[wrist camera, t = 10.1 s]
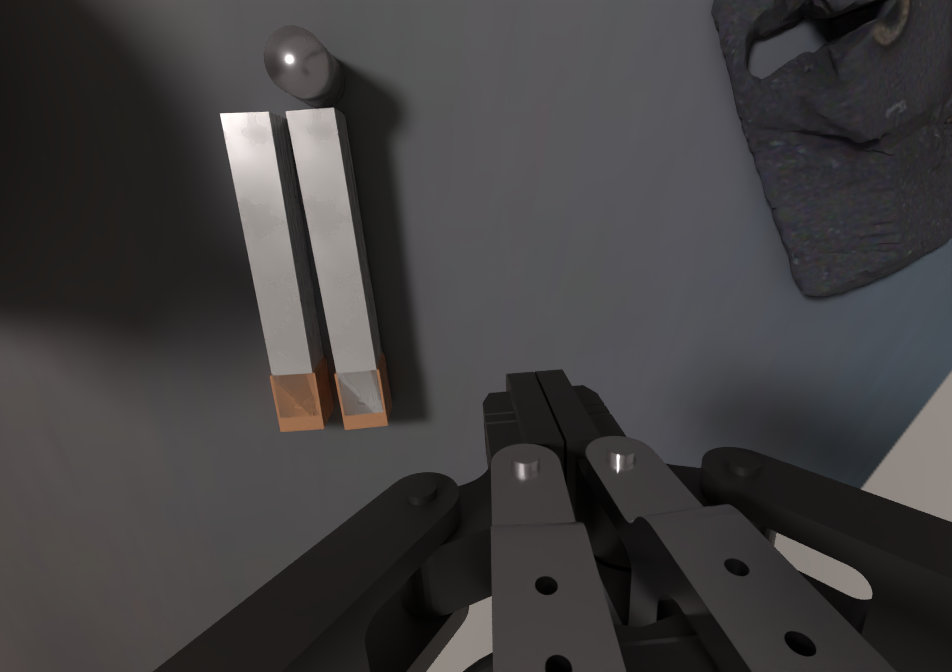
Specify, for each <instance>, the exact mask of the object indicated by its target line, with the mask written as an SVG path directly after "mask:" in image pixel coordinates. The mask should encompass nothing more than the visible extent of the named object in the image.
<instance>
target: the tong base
mask: <svg viewBox="0 0 952 672" xmlns="http://www.w3.org/2000/svg"><path fill="white" fill-rule="evenodd" d="M264 62H265V67H266V70H267V72H268V74H269V76H270V78H271V79H272V81H273V82H274V83H275V84H276V85H277V86H278V87H279V88H280V89H282V90H283V91H285V92H287V93H289V94H290V95H292V96H294V97H296V98H297V99H299V100H301V101H303V102H304V103H306V104H308V105H310V106H312V107H315V108H327V107H330V106H332V105H334V104H335V103H336V102H337V101H338V100H339V99H340V98H341V96H342V94H343V91H344V86H345V79H344V74H343V71H342V68H341V66H340V65H339V63H338V62H337V61H336V59H335V58H334V57H333V56H332V55H331V54H330V53H329V51H328V50H327V49H326V48H325V47H324V46H323V45H322V43H321V42H320V41H319V40H318V39H317V38H316V37H315V36H314V35H313V34H312V33H311V32H309V31H308V30H306V29H304V28H301V27H298V26H285V27H282V28H279V29H278V30H276V31H275V32H274V33H273V34H272V35H271V36H270V37H269V39H268V40H267V43H266V46H265V50H264ZM220 116H221V121H222V126H223V131H224V136H225V141H226V146H227V151H228V156H229V161H230V166H231V171H232V176H233V181H234V186H235V191H236V196H237V201H238V206H239V211H240V216H241V222H242V227H243V232H244V237H245V242H246V247H247V252H248V257H249V262H250V267H251V272H252V277H253V282H254V287H255V292H256V297H257V302H258V307H259V312H260V317H261V322H262V327H263V332H264V337H265V342H266V348H267V353H268V358H269V363H270V368H271V373H272V374H271V375H270V380H271V385H272V390H273V395H274V400H275V405H276V410H277V415H278V420H279V425H280V430H281V432H285V431H299V430H313V429H324V428H325V426H326V424H327V422H328V419H329V417H330V415H331V413H332V411H333V409H334V404H333V398H332V391H331V385H330V378H329V372H328V366H327V359H326V356H324V354H323V348H322V341H321V335H320V329H319V322H318V316H317V310H316V303H315V297H314V291H313V284H312V278H311V272H310V265H309V259H308V253H307V246H306V240H305V234H304V227H303V221H302V214H301V208H300V202H299V195H298V189H297V183H296V176H295V170H294V164H293V157H292V151H291V145H290V138H289V132H288V126H287V119H285V118H283V117H280V116H278V115H275V114H273V113H270V112H250V113H223V114H220Z"/></svg>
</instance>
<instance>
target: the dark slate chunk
mask: <svg viewBox="0 0 952 672" xmlns="http://www.w3.org/2000/svg"><path fill="white" fill-rule="evenodd" d="M711 13H712V15H713V17H714V19H715V26H716V28H717V30H719V39H720V45H721V49H722V51H723V52H724V54H725V56H726V65H727V69H728V72H729V74H730V80H731V85H732V89H733V93H734V99H735V104H736V108H737V112H738V115H739V116H740V117H741V118H742V129H743V131H744V133H745V136H746V138H747V141H748V147H749V149H750V150H751V152H752V153H753V155H754V161H755V165H756V167H757V168H758V169H759V172H760V175H761V178H762V181H763V188H764V192H765V197H766V199H767V200H768V201H769V203H770V206H771V208H772V213H773V219H774V221H775V223H776V225H777V227H778V229H779V232H780V235H781V238H782V242H783V244H784V246H785V247H786V249H787V252H788V254H789V260H790V265H791V270H792V275H793V277H794V279H795V281H796V283H797V285H798V286H799V288H800V290H801V291H802V292H803V294H804V295H808V296H829V295H833V294H836V293H844V292H846V291H848V290H850V289H853V288H855V287H858V286H864V285H866V284H868V283H871V282H873V281H874V280H876V279H878V278H881V277H884V276H886V275H889V274H890V273H894V272H895V271H897V270H899V269H901V268H904V267H905V266H907V265H908V264H910V263H911V262H912V261H914V260H916V259H918V258H919V257H921V256H923V255H924V254H926V253H929V252H931V251H932V250H934V249H936V248H938V247H940V246H941V245H943V244H944V243H946V242H947V241H948V240H950V239H951V237H952V0H714V3H713V6H712V10H711ZM802 17H804V19H805V20H808V19H819V18H824V19H829V18H833V19H832V20H831V21H830V22H829V25H830V30H829V35H828V42H827V43H826V44H824V45H823V46H822V47H821V48H820V49H818V50H817V51H816V52H814V53H811V52H805V53H802V54H800V55H799V56H797V57H796V58H794V59H792V60H790V61H789V62H787V63H786V64H785V65H783V66H782V67H781V68H779V69H778V70H776V71H775V72H774V73H772V74H771V75H770V76H768V77H766V78H764V79H763V80H761V79H760V78H758V77H755V76H752V75H751V74H750V72H749V71H748V68H747V59H748V51H749V47H750V45H751V44H752V43H753V42H754V41H755V40H757V39H759V38H761V37H765V36H767V35H768V34H770V33H771V32H774V31H776V30H778V29H791V28H793V27H794V26H796V24H797V23H798V22H799V21H800V19H801V18H802Z"/></svg>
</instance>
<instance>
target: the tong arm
mask: <svg viewBox="0 0 952 672" xmlns="http://www.w3.org/2000/svg"><path fill="white" fill-rule="evenodd" d="M286 115H287V120H288V125H289V131H290V136H291V141H292V146H293V151H294V156H295V162H296V167H297V172H298V177H299V182H300V187H301V193H302V198H303V203H304V208H305V213H306V218H307V224H308V229H309V234H310V239H311V244H312V249H313V254H314V260H315V265H316V270H317V275H318V280H319V285H320V291H321V296H322V301H323V306H324V311H325V316H326V322H327V327H328V332H329V337H330V342H331V347H332V353H333V358H334V363H335V368H336V372H335V373H334V376H335V381H336V386H337V391H338V396H339V401H340V406H341V411H342V416H343V422H344V427H345V430H349V429H359V428H368V427H378V426H387V425H388V423H389V418H390V414H391V409H392V398H391V392H390V385H389V379H388V372H387V366H386V359H385V353H382V348H381V342H380V335H379V329H378V322H377V316H376V310H375V303H374V297H373V291H372V284H371V278H370V271H369V265H368V259H367V252H366V246H365V240H364V233H363V227H362V220H361V214H360V208H359V201H358V195H357V189H356V182H355V176H354V169H353V163H352V157H351V150H350V144H349V138H348V131H347V125H346V118H345V115H344V114H343V113H341V112H340V111H338V110H337V109H335V108H322V109H309V110H297V111H286Z"/></svg>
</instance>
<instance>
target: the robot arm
mask: <svg viewBox="0 0 952 672" xmlns="http://www.w3.org/2000/svg"><path fill="white" fill-rule="evenodd" d="M483 414H484V430H485V445H486V456H487V464H488V470H487V471H486V472H485V473H484V474H483V475H482V476H481V477H479V478H478V479H476V480H474V481H472V482H470V483H467V484H464V485H461V486H457V484H456V483H455V481H454V480H453V479H451V478H450V477H448V476H446V475H443V474H440V473H434V472H423V473H416V474H413V475H409V476H407V477H404V478H402V479H400V480H399V481H397V482H396V483H394V484H393V485H392V486H390V487H389V488H388V489H387V490H385V491H384V492H383V493H381V494H380V495H379V496H378V497H376V498H375V499H374V500H372V501H371V502H370V503H369V504H367V505H366V506H365V507H363V508H362V509H361V510H360V511H358V512H357V513H356V514H354V515H353V516H352V517H351V518H349V519H348V520H347V521H346V522H344V523H343V524H342V525H340V526H339V527H338V528H337V529H335V530H334V531H333V532H331V533H330V534H329V535H328V536H326V537H325V538H324V539H322V540H321V541H320V542H319V543H317V544H316V545H315V546H313V547H312V548H311V549H310V550H308V551H307V552H306V553H304V554H303V555H302V556H301V557H299V558H298V559H297V560H295V561H294V562H293V563H292V564H290V565H289V566H288V567H287V568H285V569H284V570H283V571H281V572H280V573H279V574H278V575H276V576H275V577H274V578H272V579H271V580H270V581H269V582H267V583H266V584H265V585H263V586H262V587H261V588H260V589H258V590H257V591H256V592H254V593H253V594H252V595H251V596H249V597H248V598H247V599H245V600H244V601H243V602H242V603H240V604H239V605H238V606H237V607H235V608H234V609H233V610H231V611H230V612H229V613H228V614H226V615H225V616H224V617H222V618H221V619H220V620H219V621H217V622H216V623H215V624H213V625H212V626H211V627H210V628H208V629H207V630H206V631H204V632H203V633H202V634H201V635H199V636H198V637H197V638H195V639H194V640H193V641H192V642H190V643H189V644H188V645H186V646H185V647H184V648H183V649H181V650H180V651H179V652H178V653H176V654H175V655H174V656H172V657H171V658H170V659H169V660H167V661H166V662H165V663H163V664H162V665H161V666H160V667H158V668H157V669H156V670H154V671H153V672H426V671H427V670H428V668H429V667H430V666H431V664H432V663H433V662H434V660H435V659H436V658H437V657H438V655H439V654H440V653H441V651H442V650H443V648H444V647H445V646H446V645H447V643H448V642H449V641H450V639H451V638H452V637H453V636H454V634H455V633H456V631H457V630H458V629H459V628H460V626H461V625H462V624H463V622H464V621H465V619H466V617H467V614H468V611H469V605H471V604H474V603H476V602H478V601H481V600H483V599H485V598H487V597H490V596H492V634H493V652H492V653H490V654H489V655H487V656H485V657H483V658H481V659H479V660H478V661H477V662H475V663H474V664H473V665H471V666H470V667H468V668H467V669H466V670H464V671H463V672H952V522H950V521H947V520H944V519H941V518H939V517H936V516H933V515H930V514H928V513H925V512H922V511H919V510H916V509H913V508H911V507H908V506H905V505H902V504H900V503H897V502H894V501H891V500H888V499H886V498H883V497H880V496H877V495H874V494H872V493H869V492H866V491H863V490H861V489H858V488H855V487H852V486H849V485H847V484H844V483H841V482H838V481H835V480H833V479H830V478H827V477H824V476H821V475H819V474H816V473H813V472H810V471H807V470H805V469H802V468H799V467H796V466H794V465H791V464H788V463H785V462H782V461H780V460H777V459H774V458H771V457H768V456H766V455H763V454H760V453H757V452H754V451H751V450H747V449H742V448H735V447H721V448H716V449H712V450H710V451H708V452H707V453H705V455H704V456H703V458H702V466H701V468H695V467H686V466H677V465H670V464H665V463H664V462H663V460H662V459H661V458H660V457H659V456H658V455H657V454H656V453H655V451H654V450H653V449H652V448H651V447H649V446H648V445H647V444H645V443H643V442H641V441H639V440H636V439H633V438H629V437H626V435H625V434H624V432H623V431H622V429H621V428H620V426H619V425H618V424H617V422H616V421H615V419H614V418H613V416H612V415H611V414H610V412H609V410H608V409H607V407H606V406H604V403H603V401H602V400H601V398H600V397H599V395H598V394H597V393H596V392H594V391H592V390H591V389H589V388H587V387H585V386H584V385H581V386H572V385H571V384H570V382H569V380H568V378H567V377H566V375H565V373H564V371H563V370H562V369H561V370H548V371H536V372H535V373H534V372H524V373H512V374H506V392H497V393H489V394H488V396H487V397H486V399H485V400H484V402H483ZM776 533H779V534H781V535H784V536H786V537H788V538H790V539H792V540H795V541H797V542H799V543H801V544H804V545H805V546H808V547H810V548H812V549H814V550H816V551H818V552H821V553H823V554H825V555H827V556H829V557H832V558H834V559H836V560H838V561H840V562H842V563H845V564H847V565H849V566H851V567H853V568H854V569H856V570H857V571H859V572H860V573H861V574H862V575H863V576H864V577H865V578H866V580H867V581H868V582H869V584H870V586H871V588H872V593H873V594H872V599H868V600H860V599H856V598H853V597H851V596H848V595H846V594H844V593H842V592H840V591H838V590H836V589H834V588H832V587H830V586H828V585H826V584H824V583H822V582H820V581H818V580H816V579H814V578H812V577H810V576H808V575H806V574H804V573H802V572H800V571H798V570H796V568H795V567H793V565H792V564H791V563H789V561H788V560H787V559H786V558H785V557H784V556H783V555H782V554H781V553H780V552H779V551H778V550H777V549H776V548H775V547H774V543H775V537H776Z"/></svg>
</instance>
